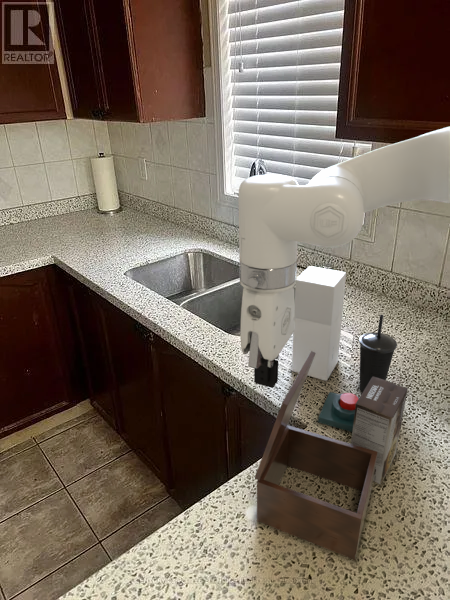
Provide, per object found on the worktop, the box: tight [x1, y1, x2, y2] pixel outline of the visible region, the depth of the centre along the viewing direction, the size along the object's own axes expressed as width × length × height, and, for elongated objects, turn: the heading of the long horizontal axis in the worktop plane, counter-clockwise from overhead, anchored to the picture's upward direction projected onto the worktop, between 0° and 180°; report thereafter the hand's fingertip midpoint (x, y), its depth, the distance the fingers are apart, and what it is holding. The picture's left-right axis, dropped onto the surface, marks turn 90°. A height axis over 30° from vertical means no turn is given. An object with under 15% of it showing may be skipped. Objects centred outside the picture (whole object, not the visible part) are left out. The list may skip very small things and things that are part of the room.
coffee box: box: [350, 377, 409, 485], centre depth 79 cm, size 9×6×16 cm
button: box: [340, 392, 359, 410], centre depth 92 cm, size 4×4×2 cm
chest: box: [256, 424, 378, 561], centre depth 72 cm, size 16×14×10 cm
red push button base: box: [317, 391, 360, 433], centre depth 93 cm, size 10×9×4 cm
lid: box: [254, 351, 316, 481], centre depth 69 cm, size 16×14×1 cm
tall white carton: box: [291, 265, 347, 382], centre depth 104 cm, size 9×9×25 cm
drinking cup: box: [358, 314, 398, 394], centre depth 96 cm, size 8×8×20 cm
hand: (266, 382), depth 68 cm, fingers closed
